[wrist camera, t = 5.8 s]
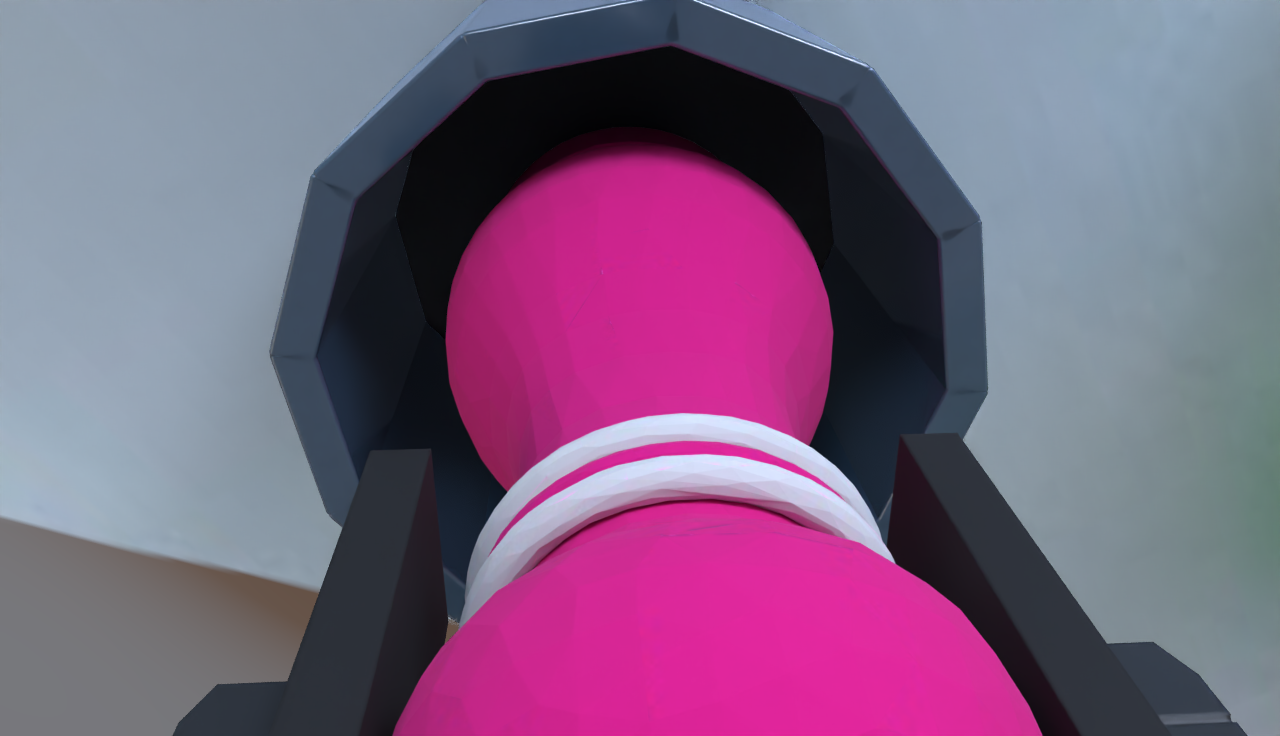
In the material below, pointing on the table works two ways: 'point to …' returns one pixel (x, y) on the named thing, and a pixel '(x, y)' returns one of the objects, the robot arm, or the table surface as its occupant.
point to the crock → (852, 275)
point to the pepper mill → (674, 480)
